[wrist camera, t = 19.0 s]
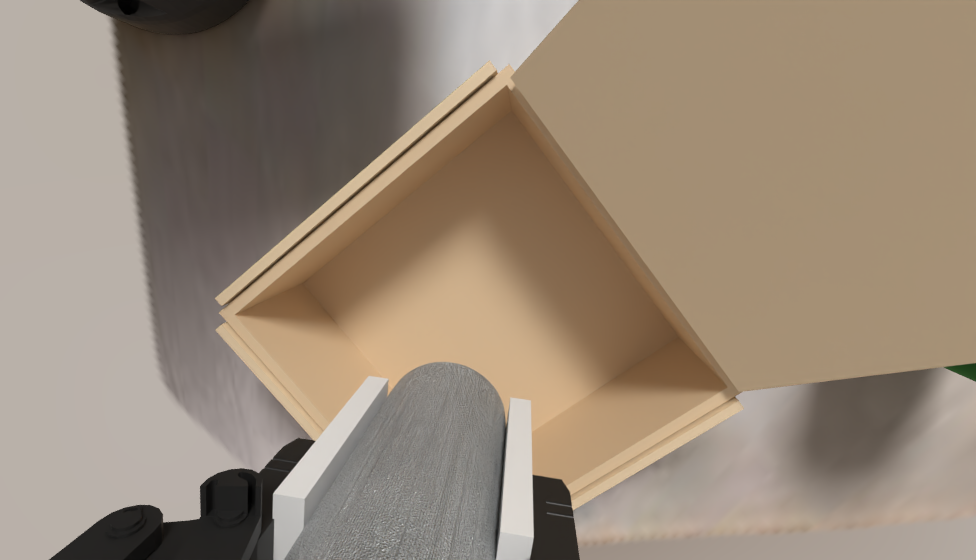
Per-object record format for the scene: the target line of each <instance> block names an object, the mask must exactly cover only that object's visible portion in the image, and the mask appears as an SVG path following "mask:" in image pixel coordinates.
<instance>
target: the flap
mask: <svg viewBox="0 0 976 560" xmlns="http://www.w3.org/2000/svg"><path fill="white" fill-rule="evenodd" d="M510 78H511V80H512V81H513V82H514V84H515V85H516V87H517V88H518V89H519V91H520V92H521V93H522V95H523V96H524V98H525V99H526V100H527V102H528V103H529V104H530V106H531V107H532V109H533V110H534V111H535V113H536V114H537V115H538V117H539V118H540V120H541V121H542V122H543V124H544V125H545V126H546V128H547V129H548V131H549V132H550V133H551V135H552V136H553V137H554V139H555V140H556V142H557V143H558V144H559V146H560V147H561V148H562V150H563V151H564V152H565V154H566V155H567V157H568V158H569V159H570V161H571V162H572V163H573V165H574V166H575V168H576V169H577V170H578V172H579V173H580V174H581V176H582V177H583V179H584V180H585V181H586V183H587V184H588V185H589V187H590V188H591V190H592V191H593V192H594V194H595V195H596V196H597V198H598V199H599V201H600V202H601V203H602V205H603V206H604V207H605V209H606V210H607V212H608V213H609V214H610V216H611V217H612V218H613V220H614V221H615V223H616V224H617V225H618V227H619V228H620V229H621V231H622V232H623V233H624V235H625V236H626V238H627V239H628V240H629V242H630V243H631V244H632V246H633V247H634V249H635V250H636V251H637V253H638V254H639V255H640V257H641V258H642V260H643V261H644V262H645V264H646V265H647V266H648V268H649V269H650V271H651V272H652V273H653V275H654V276H655V277H656V279H657V280H658V282H659V283H660V284H661V286H662V287H663V288H664V290H665V291H666V293H667V294H668V295H669V297H670V298H671V299H672V301H673V302H674V304H675V305H676V306H677V308H678V309H679V310H680V312H681V313H682V314H683V316H684V317H685V319H686V320H687V321H688V323H689V324H690V325H691V327H692V328H693V330H694V331H695V332H696V334H697V335H698V336H699V338H700V339H701V341H702V342H703V343H704V345H705V346H706V347H707V349H708V350H709V352H710V353H711V354H712V356H713V357H714V358H715V360H716V361H717V363H718V364H719V365H720V367H721V368H722V369H723V371H724V372H725V374H726V375H727V376H728V378H729V379H730V380H731V382H732V383H733V385H734V386H735V387H736V389H737V390H738V391H739V392H742V391H750V390H759V389H767V388H775V387H783V386H791V385H800V384H808V383H816V382H824V381H832V380H840V379H849V378H857V377H865V376H873V375H881V374H890V373H898V372H906V371H914V370H922V369H931V368H939V367H947V366H955V365H963V364H971V363H976V0H579V1H578V2H577V3H576V4H575V5H574V6H573V7H572V8H571V10H570V11H569V12H568V13H567V14H566V15H565V16H564V17H563V19H562V20H561V21H560V22H559V23H558V24H557V25H556V26H555V28H554V29H553V30H552V31H551V32H550V33H549V34H548V35H547V37H546V38H545V39H544V40H543V41H542V42H541V43H540V44H539V46H538V47H537V48H536V49H535V50H534V51H533V52H532V53H531V55H530V56H529V57H528V58H527V59H526V60H525V61H524V62H523V64H522V65H521V66H520V67H519V68H518V69H517V70H516V71H515V73H514V74H513V75H512V76H511V77H510Z"/></svg>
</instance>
